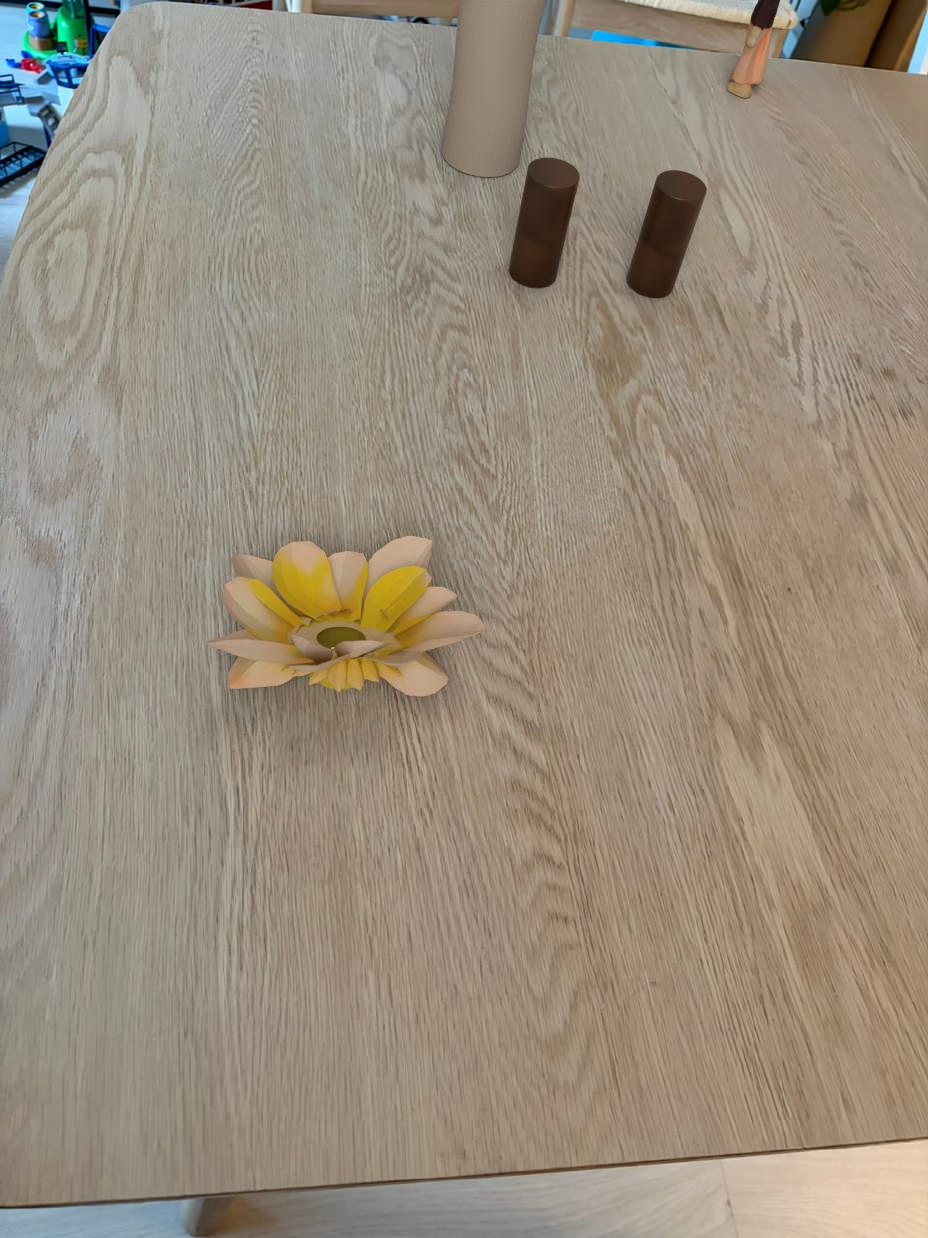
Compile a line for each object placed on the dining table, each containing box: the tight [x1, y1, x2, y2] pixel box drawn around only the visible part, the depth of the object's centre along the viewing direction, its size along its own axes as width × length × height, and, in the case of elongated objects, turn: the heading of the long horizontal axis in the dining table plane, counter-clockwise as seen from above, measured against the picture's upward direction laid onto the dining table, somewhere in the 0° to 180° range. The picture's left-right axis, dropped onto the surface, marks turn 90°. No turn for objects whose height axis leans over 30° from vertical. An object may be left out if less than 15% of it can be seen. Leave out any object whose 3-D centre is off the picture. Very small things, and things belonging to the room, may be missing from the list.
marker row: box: [508, 157, 708, 299], centre depth 82 cm, size 14×4×9 cm, turn 92°
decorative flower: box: [202, 535, 487, 698], centre depth 58 cm, size 15×11×10 cm
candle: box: [440, 0, 547, 178], centre depth 88 cm, size 7×14×20 cm, turn 172°
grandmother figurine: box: [726, 0, 781, 99], centre depth 103 cm, size 8×4×13 cm, turn 171°
